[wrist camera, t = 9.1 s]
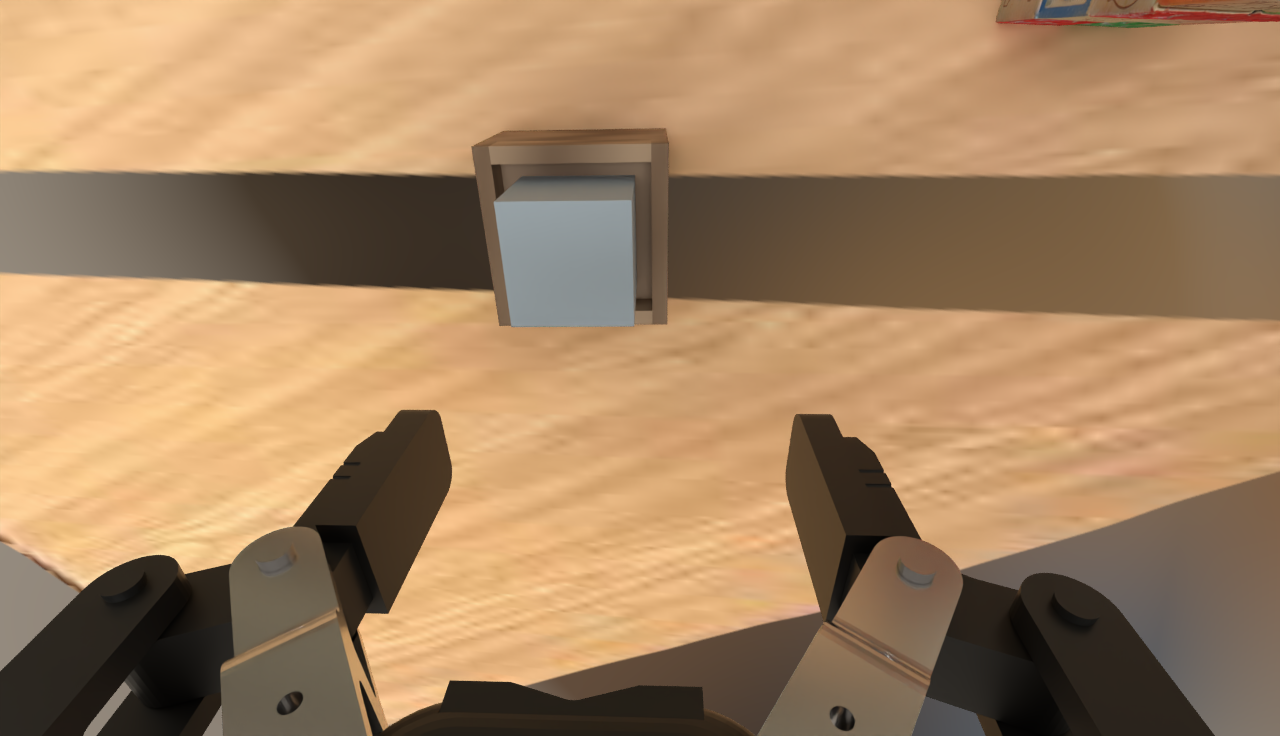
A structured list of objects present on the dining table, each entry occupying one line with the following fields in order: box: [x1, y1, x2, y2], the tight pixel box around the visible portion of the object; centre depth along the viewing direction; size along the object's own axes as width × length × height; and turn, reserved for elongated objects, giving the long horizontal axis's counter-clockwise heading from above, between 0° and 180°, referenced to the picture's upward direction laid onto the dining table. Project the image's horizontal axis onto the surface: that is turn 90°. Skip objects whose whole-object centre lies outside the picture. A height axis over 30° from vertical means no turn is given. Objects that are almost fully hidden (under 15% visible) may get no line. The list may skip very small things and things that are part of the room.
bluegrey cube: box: [494, 175, 637, 327], centre depth 23 cm, size 5×5×5 cm
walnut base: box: [472, 128, 669, 326], centre depth 27 cm, size 8×8×6 cm
